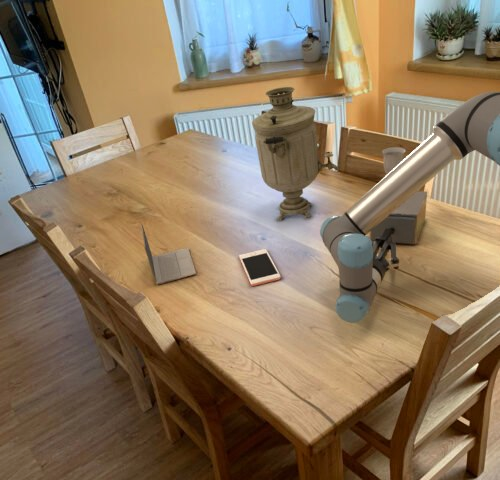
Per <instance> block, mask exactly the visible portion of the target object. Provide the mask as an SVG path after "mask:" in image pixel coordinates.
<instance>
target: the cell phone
mask: <svg viewBox="0 0 500 480" xmlns="http://www.w3.org/2000/svg"><path fill="white" fill-rule="evenodd" d="M238 259H239V260H240V262H241V265H242V267H243V270H244V272H245V275H246V277H247V279H248V281H249V283H250V286H252V287H255V286H259V285H263V284H267V283H271V282H276V281H279V280H281V278H282V277H281V274H280V272H279V270H278V269H277V267H276V264H275V263H274V261H273V259H272V257H271V255H270V254H269V252H268V250H267V248H264V249H259V250H255V251H251V252H246V253H243V254H239V255H238Z"/></svg>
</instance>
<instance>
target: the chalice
mask: <svg viewBox="0 0 500 480" xmlns="http://www.w3.org/2000/svg"><path fill="white" fill-rule="evenodd" d="M381 154H382V155H383V170H384V172H385V173H384V174H386V175H387V174H389V173H390V172H391V171H392V170H393V169H394V168H395V167H396V166H397V165H399V164H400V163H401V162H402V161H403V160H404V155H405V154H406V149H405V148H403V147H399V146H397V147H395V146H393V147H387V148H385V149H383V150H381ZM386 175H385V176H386Z"/></svg>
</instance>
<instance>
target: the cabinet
mask: <svg viewBox="0 0 500 480" xmlns="http://www.w3.org/2000/svg"><path fill="white" fill-rule="evenodd" d="M427 199H428V191H423V190H422V191H421V190H418V191H417V192H416V193H414V194H413V195H412V196H411V197H410V198H409V199H407V200H406V201H405V202H404V203H403V204H402V205H400V206H399V207H398V208H397V209H396V210H395V211H393V212H392V213H391V214H390V215H389V216H407V217H415V232H414V243H413V244H412V245H414V246H415V245H417V244H418V240H419V238H420V235H421V233H422V229H423V227H424V224H425V222H426V212H427V201H428V200H427ZM369 238H370V239H371V231H370V232H369ZM395 243H396V244H398V243H397V242H395ZM400 244H403V245H411V244H410V243H400Z"/></svg>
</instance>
